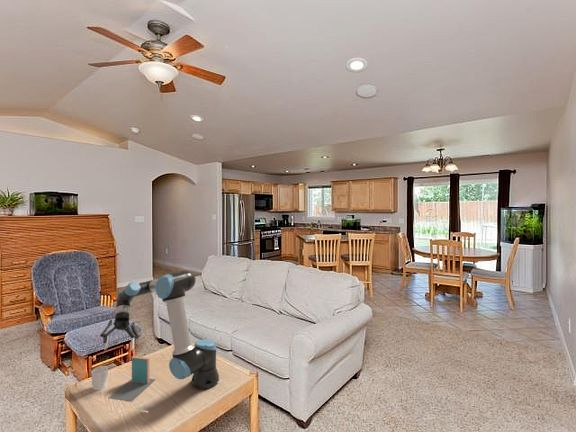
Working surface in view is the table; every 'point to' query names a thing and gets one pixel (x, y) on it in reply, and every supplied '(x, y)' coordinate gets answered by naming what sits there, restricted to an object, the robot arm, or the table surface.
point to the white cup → (99, 377)
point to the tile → (140, 369)
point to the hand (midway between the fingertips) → (119, 349)
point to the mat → (130, 390)
